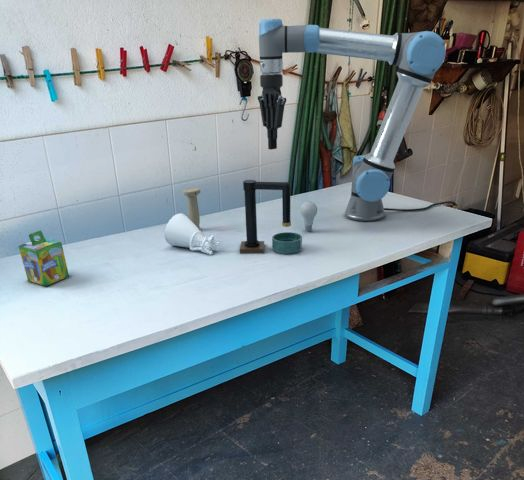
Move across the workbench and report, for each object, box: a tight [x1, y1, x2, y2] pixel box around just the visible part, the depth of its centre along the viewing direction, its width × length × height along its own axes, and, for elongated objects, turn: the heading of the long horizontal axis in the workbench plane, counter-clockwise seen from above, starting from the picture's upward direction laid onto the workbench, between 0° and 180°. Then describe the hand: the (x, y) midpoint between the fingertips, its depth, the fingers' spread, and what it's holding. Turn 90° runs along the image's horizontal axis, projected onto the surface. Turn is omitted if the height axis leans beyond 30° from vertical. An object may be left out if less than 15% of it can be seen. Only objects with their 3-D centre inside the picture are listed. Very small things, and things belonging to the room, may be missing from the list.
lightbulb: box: [300, 201, 318, 232], centre depth 192 cm, size 6×6×11 cm
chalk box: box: [17, 230, 70, 287], centre depth 158 cm, size 9×9×15 cm
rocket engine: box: [164, 212, 221, 256], centre depth 179 cm, size 12×12×18 cm
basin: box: [271, 231, 303, 255], centre depth 177 cm, size 10×10×4 cm
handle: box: [182, 187, 201, 230], centre depth 196 cm, size 5×6×15 cm
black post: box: [239, 189, 265, 254], centre depth 175 cm, size 8×8×20 cm
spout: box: [242, 179, 292, 228], centre depth 171 cm, size 16×4×14 cm, turn 78°
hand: (272, 148), depth 185 cm, fingers closed
